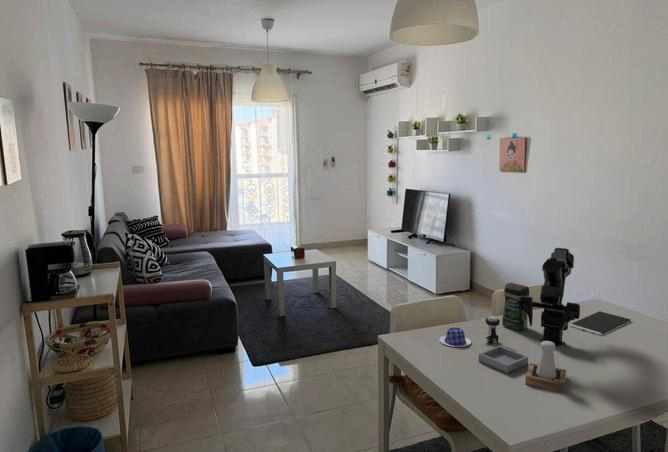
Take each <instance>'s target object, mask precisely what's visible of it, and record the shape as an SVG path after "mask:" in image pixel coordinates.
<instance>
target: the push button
mask: <svg viewBox="0 0 668 452" xmlns="http://www.w3.org/2000/svg"><path fill="white" fill-rule="evenodd" d="M500 323H501V320H500V319H499V317H497V316H496V315H489V316H487V317H486V318H485V324H486V325H488V329H487V330H488V331H487V335H486V336H485V339H484V340H483V341H484V344H488V345H491V344H496V343H498V342H499V338H500V337H499V335H498V334H497V327H498V326H499V325H500Z"/></svg>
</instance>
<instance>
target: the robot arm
mask: <svg viewBox="0 0 668 452" xmlns="http://www.w3.org/2000/svg"><path fill="white" fill-rule="evenodd" d="M574 266H575V255H573V253H571V252H570V249H568V248H565V247H564V248H563V247H554V250H553V252H551V254H550V257H548V258H547V259H546V261H544V262H543V264H542V266H541V268H542V272H543V278H544V282H543V285H541V290H540V296H539V300H540V301H535V300H534V298H533V296H529V297H528V296H521V297H520V299H519V304H520V309H521V310H524V312H525V313H527V319H528V322H529V326H530V327H532V326H533V313H534V312H533V311H534V310H533V308H539V309H543V311H541V315H540V327H541V328H542V327H543V331H542V334H543V335H542V338H540V339H539V341H540V342H543V341H551V342H553V343H554V344H555V347H557V346H561V345H565V344H566V342H565V341H563V333H564V332H566V331H567V330H568V327H569V324H570V323H571V321H575V320H576V319H577V320H580V318H581V317H580V316H581V305H580V304H579V303H576V302H569V301H568V302H566V305H564V304H563V300H564V299H563V298H564V294H565V286H566V279H567V278H568V276H569V275H571V274H572V269H574V268H575V267H574ZM563 331H564V332H563Z"/></svg>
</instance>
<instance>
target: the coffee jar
mask: <svg viewBox="0 0 668 452" xmlns="http://www.w3.org/2000/svg"><path fill="white" fill-rule="evenodd" d="M503 294H504V306H503V307H504V308H503V314H502V321H501V323H502V326H503V327H505V328H508V329H511V330H516V331H525V330H526V329H527V328H528V315H527V313H525V312H524V310H521V309H520V304H519V299H520V297H521V296H528V297H530V295H531V294H530V287H529V286H527V285H522V284H518V283H514V282H509V283H506V284H505V286H504V290H503Z"/></svg>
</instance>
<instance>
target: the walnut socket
mask: <svg viewBox="0 0 668 452" xmlns="http://www.w3.org/2000/svg"><path fill="white" fill-rule="evenodd" d="M538 364H539V363H538ZM538 364H536V363H532V362H528V367H527V371H526V373H525V382H524V383H525V385H527V386H531V387H535V388H536V387H537V388H542V389H546V390H550V391H556V392H560V393H565V388H566V375H567V369H563V368H558V367H555V370H556V378H557V379H559V381H558V380H549V379H544V378H539V377H537V376H534V374H537V373H536V371H537V368H538Z"/></svg>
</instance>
